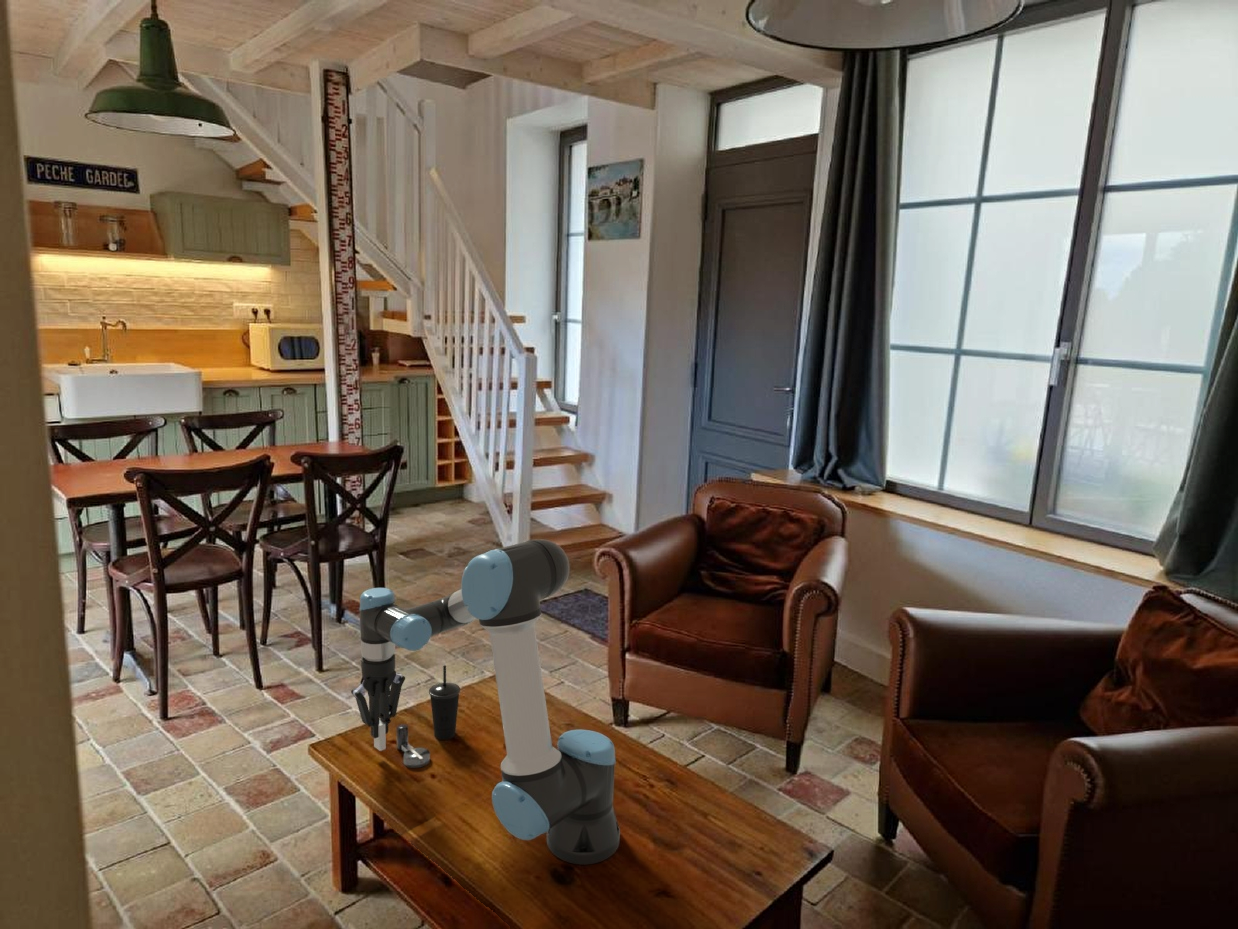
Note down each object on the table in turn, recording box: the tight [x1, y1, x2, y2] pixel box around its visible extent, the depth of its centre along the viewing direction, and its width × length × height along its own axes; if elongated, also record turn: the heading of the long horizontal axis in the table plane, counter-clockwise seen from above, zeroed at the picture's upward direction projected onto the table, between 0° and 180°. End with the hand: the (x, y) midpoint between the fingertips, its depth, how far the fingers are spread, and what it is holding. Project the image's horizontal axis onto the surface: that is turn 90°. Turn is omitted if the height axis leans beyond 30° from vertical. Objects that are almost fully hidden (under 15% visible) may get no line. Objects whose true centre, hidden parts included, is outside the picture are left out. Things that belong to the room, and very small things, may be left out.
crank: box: [396, 723, 431, 769], centre depth 188 cm, size 11×6×6 cm, turn 43°
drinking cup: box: [428, 664, 461, 741], centre depth 197 cm, size 8×8×20 cm
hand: (379, 747), depth 187 cm, fingers closed
